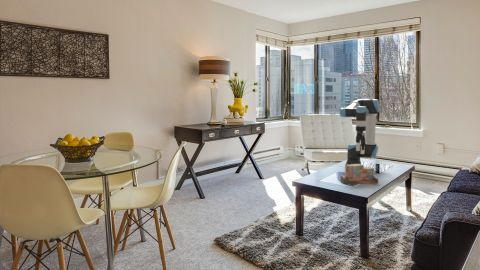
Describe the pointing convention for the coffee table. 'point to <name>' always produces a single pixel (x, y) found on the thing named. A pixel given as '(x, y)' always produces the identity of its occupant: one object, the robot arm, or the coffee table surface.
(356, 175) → the stack of blocks
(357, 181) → the base board
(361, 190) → the coffee table surface
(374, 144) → the robot arm
